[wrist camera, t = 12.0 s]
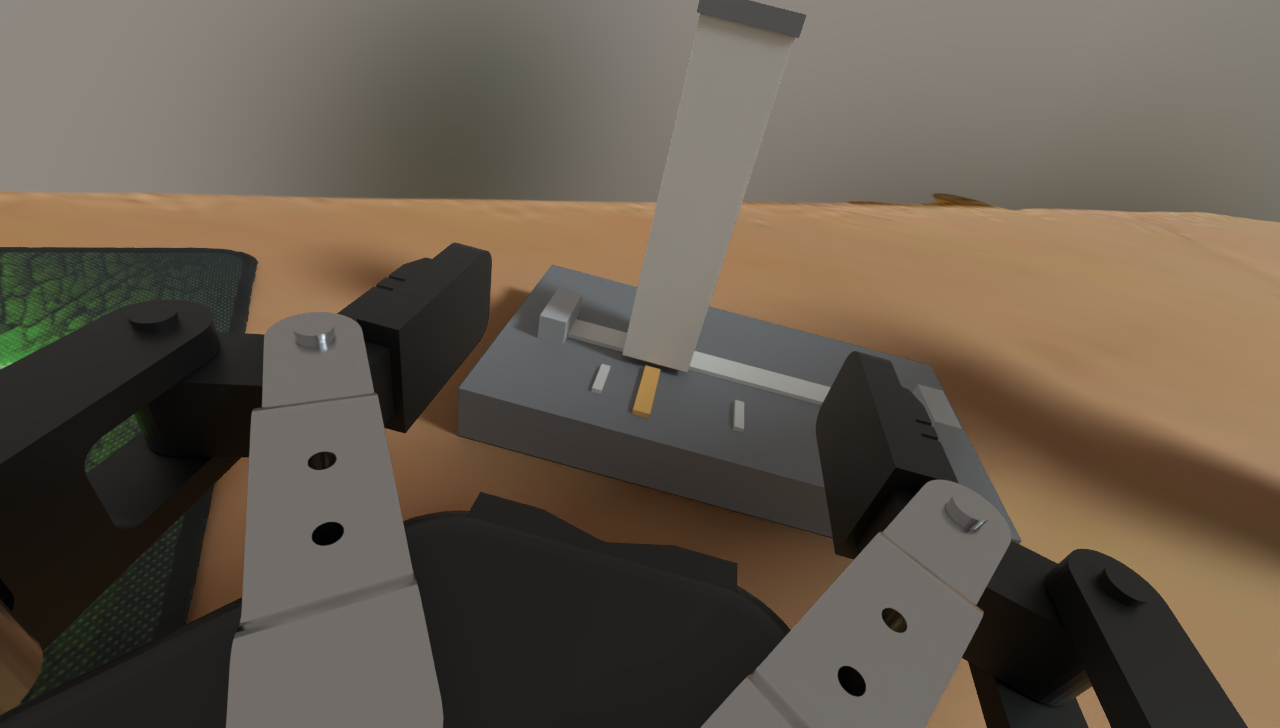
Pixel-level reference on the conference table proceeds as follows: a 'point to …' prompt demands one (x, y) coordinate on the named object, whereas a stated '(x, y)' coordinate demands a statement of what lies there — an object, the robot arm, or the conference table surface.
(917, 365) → the console
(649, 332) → the fader
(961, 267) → the conference table surface
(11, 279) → the mouse mat
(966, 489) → the robot arm
